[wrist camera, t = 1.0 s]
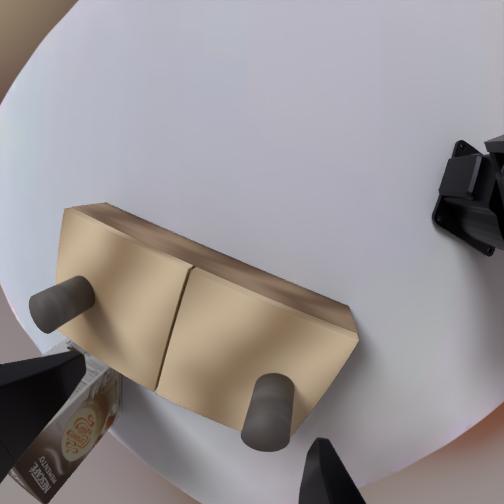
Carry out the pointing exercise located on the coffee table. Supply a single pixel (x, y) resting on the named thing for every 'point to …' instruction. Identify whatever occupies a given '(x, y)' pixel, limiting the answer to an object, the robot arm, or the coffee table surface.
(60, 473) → the coffee box
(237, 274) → the walnut box
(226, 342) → the lid
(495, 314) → the coffee table surface
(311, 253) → the coffee table surface
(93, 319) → the lid
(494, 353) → the coffee table surface
